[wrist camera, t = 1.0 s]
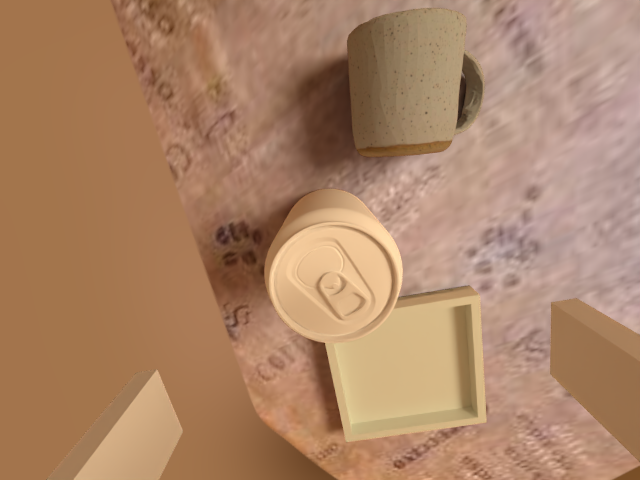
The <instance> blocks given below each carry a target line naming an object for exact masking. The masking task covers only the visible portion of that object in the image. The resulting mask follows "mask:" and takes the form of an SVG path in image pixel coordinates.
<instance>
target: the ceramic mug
mask: <svg viewBox="0 0 640 480" xmlns="http://www.w3.org/2000/svg"><path fill="white" fill-rule="evenodd" d="M466 27H467V24H466V17H465V16H464V15H463V14H461V13H459V12H457V11H452V10H449V9H442V8H421V9H413V10H407V11H401V12H394V13H390V14H385V15H382V16H379V17H376V18H373V19H371V20H370V21H368V22H366V23H363V24H361V25H359V26H358V27H357V28H355V29H354V30H353V31H352V32H351V33H350V34H349V36H348V40H347V50H348V66H349V83H350V97H351V114H352V133H353V137H354V142H355V147H356V149H357V151H358V152H359V153H360V154H361V155H362V156H365V157H384V156H405V155H419V154H428V153H436V152H442V151H444V150H445V149H447V148H448V147H449V146H450V144H451V142H452V139H453V136H454V135H456V134H458V133H461V132H463V131H465V130H467V129H468V128H469V127H470V126H471V125H472V124H473V123H474V121H475V120H476V118H477V116H478V115H479V112H480V109H481V106H482V103H483V98H484V90H485V83H484V75H483V71H482V68H481V66H480V64H479V62H478V61H477V60H476V58H475V57H474V56H473V55H472V54H470V53H469V52H468V51H466V50H464V46H465V36H466ZM462 72H463V74H464V76H465V81H466V94H465V100H464V107H463V109H462V116H461V117H460V119H459V121H458V122H457V117H458V100H459V89H460V81H461V73H462Z"/></svg>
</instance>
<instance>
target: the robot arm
mask: <svg viewBox="0 0 640 480" xmlns="http://www.w3.org/2000/svg"><path fill="white" fill-rule="evenodd" d="M550 374H551V375H552V376H553V377H554V378H555V379H556V380H557V381H558V382H559V383H560V384H561V385H562V386H563V387H564V388H565V389H566V390H567V391H568V392H569V393H570V394H571V395H572V396H573V397H574V398H575V399H576V400H577V401H578V402H579V403H580V404H581V405H582V406H583V407H584V408H585V409H586V410H587V411H588V412H589V413H590V414H591V415H592V416H593V417H594V418H595V419H596V420H597V421H598V422H599V423H600V424H602V425H603V426H604V427H605V428H606V429H607V430H608V431H609V432H610V433H611V434H612V435H613V436H614V437H615V438H616V439H617V440H618V441H619V442H620V443H621V444H622V445H623V446H624V447H625V448H626V449H627V450H628V451H629V452H630V453H631V454H632V455H633V456H634V457H635V458H636V459H637V460H638V461H639V462H640V335H639V334H637V333H635V332H634V331H632V330H630V329H628V328H627V327H625V326H623V325H622V324H620V323H618V322H616V321H615V320H613V319H611V318H610V317H608V316H606V315H604V314H603V313H601V312H599V311H597V310H596V309H594V308H592V307H591V306H589V305H587V304H585V303H584V302H582V301H580V300H579V299H577V298H575V299H569V300H563V301H557V302H551V358H550ZM182 432H183V430H182V428H181V425H180V423H179V421H178V418H177V416H176V413H175V411H174V409H173V406H172V404H171V402H170V399H169V397H168V394H167V392H166V389H165V387H164V385H163V382H162V380H161V378H160V375H159V373H158V371H157V370H150V371H144V372H139V373H135V375H134V376H133V377H132V378H131V380H130V381H129V382H128V383H127V384H126V385H125V387H124V388H123V389H122V390H121V391H120V393H119V394H118V395H117V396H116V397H115V398H114V400H113V401H112V402H111V403H110V404H109V406H108V407H107V408H106V409H105V411H104V412H103V413H102V414H101V415H100V416H99V418H98V419H97V420H96V421H95V422H94V423H93V425H92V426H91V427H90V428H89V429H88V431H87V432H86V433H85V434H84V435H83V437H82V438H81V439H80V440H79V442H78V443H77V444H76V445H75V446H74V447H73V448H72V450H71V451H70V452H69V453H68V454H67V456H66V457H65V458H64V459H63V460H62V462H61V463H60V464H59V465H58V467H57V468H56V469H55V470H54V471H53V472H52V474H51V475H50V476H49V477H48V478H47V479H46V480H159V478H160V476H161V474H162V472H163V470H164V468H165V466H166V464H167V462H168V460H169V458H170V456H171V454H172V452H173V450H174V448H175V446H176V444H177V442H178V440H179V438H180V436H181V434H182Z"/></svg>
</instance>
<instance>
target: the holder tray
mask: <svg viewBox="0 0 640 480" xmlns="http://www.w3.org/2000/svg"><path fill="white" fill-rule="evenodd" d="M325 346H326V350H327V355H328V360H329V364H330V369H331V374H332V378H333V383H334V388H335V393H336V397H337V402H338V407H339V411H340V416H341V421H342V425H343V430H344V435H345V440H346V442H351V441H358V440H365V439H372V438H379V437H386V436H394V435H401V434H408V433H415V432H422V431H429V430H436V429H443V428H451V427H458V426H465V425H472V424H479V423H486V405H485V386H484V367H483V348H482V329H481V310H480V295H479V294H478V293H477V292H476V291H475V290H474V289H473V288H472V287H470V286H463V287H457V288H451V289H445V290H439V291H433V292H427V293H421V294H415V295H409V296H403V297H398V298H397V301H396V304H395V306H394V308H393V310H392V312H391V313H390V315H389V316H388V318H387V319H386V320H385V321H384V322H383V323H382V324H381V325H380V326H379V327H378V328H377V329H375V330H374V331H373V332H371V333H369V334H368V335H366V336H364V337H362V338H359V339H356V340H353V341H349V342H344V343H325Z"/></svg>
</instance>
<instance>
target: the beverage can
mask: <svg viewBox="0 0 640 480" xmlns="http://www.w3.org/2000/svg"><path fill="white" fill-rule="evenodd" d="M402 275H403V270H402V261H401V257H400V253H399V250H398V248H397V245H396V243H395V242H394V240H393V238H392V237H391V235H390V234H389V233H388V232H387V230H386V229H385V228H384V227H383V226H382V224H381V223H380V222H379V221H378V220H377V218H376V217H375V216H374V215H373V214H372V213H371V211H370V210H369V209H368V208H367V207H366V205H365V204H364V203H363V202H362V201H361V200H360V199H358V198H357V197H356V196H354V195H352V194H351V193H348V192H346V191H343V190H339V189H321V190H317V191H314V192H311V193H309V194H307V195H306V196H304V197H303V198H301V199H300V200H299V201H298V202H297V203H296V204H295V205H294V206H293V208H292V209H291V211H290V212H289V214H288V216H287V218H286V219H285V221H284V223H283V225H282V226H281V228H280V230H279V232H278V233H277V235H276V237H275V238H274V240H273V242H272V244H271V246H270V248H269V250H268V253H267V257H266V261H265V268H264V278H265V285H266V289H267V293H268V295H269V298H270V300H271V302H272V304H273V306H274V308H275V310H276V312H277V314H278V315H279V317H280V318H281V319H282V320H283V322H284V323H285V324H286V325H287V326H288V327H290V328H291V329H292V330H293V331H295V332H296V333H298V334H300V335H302V336H304V337H306V338H308V339H311V340H314V341H318V342H323V343H344V342H349V341H353V340H356V339H359V338H362V337H364V336H366V335H368V334H369V333H371V332H373V331H374V330H375V329H377V328H378V327H379V326H380V325H381V324H382V323H383V322H384V321H385V320H386V319H387V318H388V316H389V315H390V313H391V312H392V310H393V308H394V306H395V304H396V301H397V298H398V295H399V292H400V288H401V284H402Z"/></svg>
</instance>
